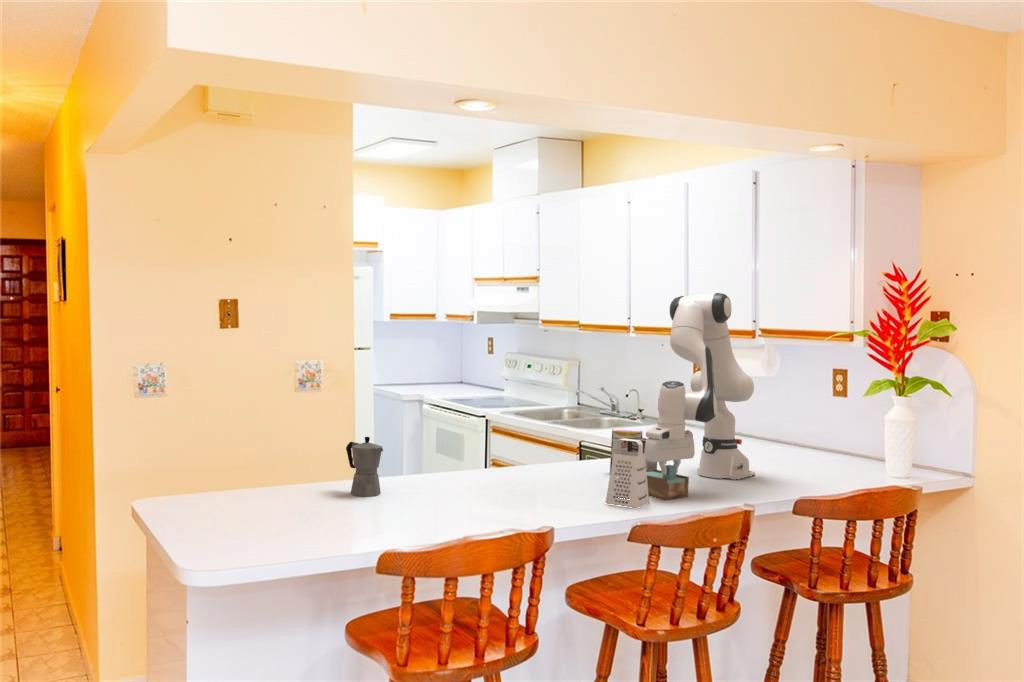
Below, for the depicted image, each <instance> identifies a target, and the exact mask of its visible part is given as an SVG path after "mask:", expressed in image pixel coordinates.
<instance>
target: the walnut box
mask: <svg viewBox="0 0 1024 682" xmlns="http://www.w3.org/2000/svg"><path fill="white" fill-rule="evenodd" d="M652 471H654V472H658V473H661V469H660V470H659V469H657V470H656V469H649V470H646V472H652ZM676 477H680V478H684V479H685V482H680V483H672V484H667V479H662V478H658V477H654V476H650V475H647V484H648V495H649V497H650V496H652V497H651V498H654V497H656V498H655V499H658V498H659V500H663V501H667V500H675V499H676V500H677V499H681V498H688V497H689V483H690V482H689V480H690V479H689V478H690V477H689V476H686V475H682V474H678V473H676Z"/></svg>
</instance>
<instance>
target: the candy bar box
mask: <svg viewBox="0 0 1024 682" xmlns="http://www.w3.org/2000/svg"><path fill="white" fill-rule="evenodd" d="M636 437H640V438H643V431H642V430H636V429H621V428H619V429H618V428H617V429H616V428H612V429H611V441H610V443H611V444H610V445H611V447H610V461H609V462H610V463H609V465H610V466H609V474H610V473H611V467H612V461H613V455H614V454H615V453H616V443H617V442H618V441H619V440H620V439H624V438H625V439H629V438H636ZM627 447H628V441H626V440H622V441H621V451H627ZM619 466H620V465H619ZM616 467H618V466H616Z"/></svg>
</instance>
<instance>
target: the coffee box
mask: <svg viewBox="0 0 1024 682" xmlns="http://www.w3.org/2000/svg"><path fill="white" fill-rule="evenodd" d="M629 439H634V440H641V442H642V443H643V453H645V442H646V440H647V439H648V438H647V437H642V438H640V437H636V438H629ZM638 450H639V445H638V443H637V442H636V441H628V447H627V451H628V452H637V453H638ZM645 462H646V470H649V469H656V470H658V462H648V461H646V459H645Z"/></svg>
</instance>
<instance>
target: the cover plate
mask: <svg viewBox="0 0 1024 682" xmlns="http://www.w3.org/2000/svg"><path fill="white" fill-rule="evenodd" d="M665 466H666V469H668V474H667V475H663V474H661V473H658V472H654V471H652V472H646V473H647V475H650V476H654V477H658V478H662V479H667V484H672V483H680V482H685V479H684V478H680V477H676V474H677V473H676V466H673V465H671V464H665Z"/></svg>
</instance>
